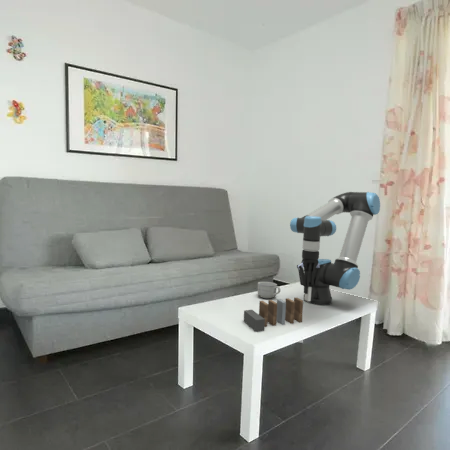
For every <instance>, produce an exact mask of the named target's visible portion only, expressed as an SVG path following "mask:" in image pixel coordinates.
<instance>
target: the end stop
mask: <svg viewBox="0 0 450 450" xmlns="http://www.w3.org/2000/svg"><path fill="white" fill-rule="evenodd" d="M243 322H244V323H245V324H246V325H248V326H249V327H250V328H251V329H252V330H253V331H254V332H256V333H257V332H264V331H265V328H266V327H265V319H264V318H263V317H261V316H260V315H259V313H257V312H256V311H254V310H253V309H248V310H247V309H246V310H243Z"/></svg>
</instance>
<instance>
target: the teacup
mask: <svg viewBox="0 0 450 450" xmlns="http://www.w3.org/2000/svg"><path fill="white" fill-rule="evenodd" d="M277 290H278V291H277ZM280 292H281V288H280V286H278V284H277V283H275V282H271V281H258V282H257V295H258V296H259V297H260V298H261V299H268V300H270V299H273V298H274V297H276V296H277V295H279V294H280Z"/></svg>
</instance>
